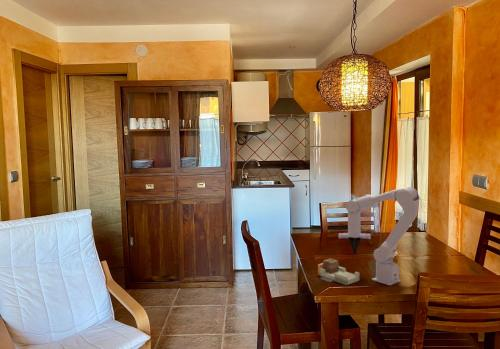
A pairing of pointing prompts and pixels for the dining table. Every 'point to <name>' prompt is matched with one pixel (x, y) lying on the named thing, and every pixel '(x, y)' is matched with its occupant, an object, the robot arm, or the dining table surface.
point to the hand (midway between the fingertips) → (354, 253)
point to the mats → (326, 279)
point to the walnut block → (331, 265)
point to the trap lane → (339, 275)
